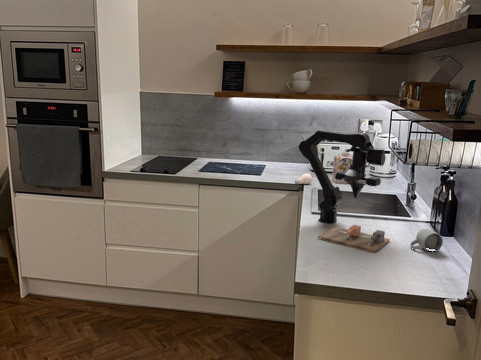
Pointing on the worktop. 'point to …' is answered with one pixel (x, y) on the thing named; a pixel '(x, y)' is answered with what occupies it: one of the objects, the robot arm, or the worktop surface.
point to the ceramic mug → (427, 240)
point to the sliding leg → (353, 231)
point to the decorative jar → (341, 165)
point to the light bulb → (304, 179)
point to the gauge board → (356, 239)
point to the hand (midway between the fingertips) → (355, 197)
